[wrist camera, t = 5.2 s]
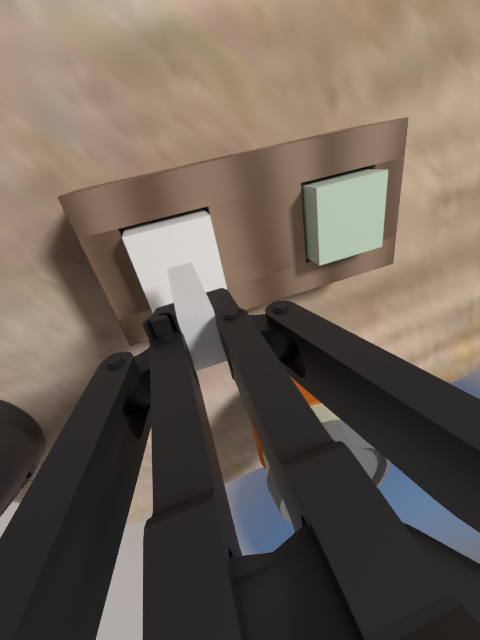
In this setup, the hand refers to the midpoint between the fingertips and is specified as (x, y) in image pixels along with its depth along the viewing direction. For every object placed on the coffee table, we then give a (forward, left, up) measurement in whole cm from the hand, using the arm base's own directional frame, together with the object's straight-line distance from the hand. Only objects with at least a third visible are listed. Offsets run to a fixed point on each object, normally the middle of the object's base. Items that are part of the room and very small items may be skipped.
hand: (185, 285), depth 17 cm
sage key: (+14, 0, -9) cm, 16 cm away
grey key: (0, 0, -9) cm, 9 cm away
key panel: (+7, 0, -11) cm, 13 cm away
